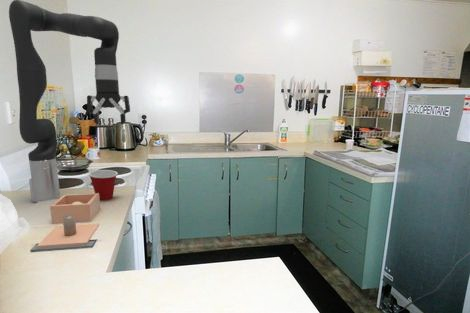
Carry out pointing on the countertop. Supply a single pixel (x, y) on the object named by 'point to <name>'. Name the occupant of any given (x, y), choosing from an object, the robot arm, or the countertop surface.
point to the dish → (75, 207)
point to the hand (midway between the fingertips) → (110, 124)
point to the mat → (90, 245)
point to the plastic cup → (103, 183)
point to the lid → (68, 234)
